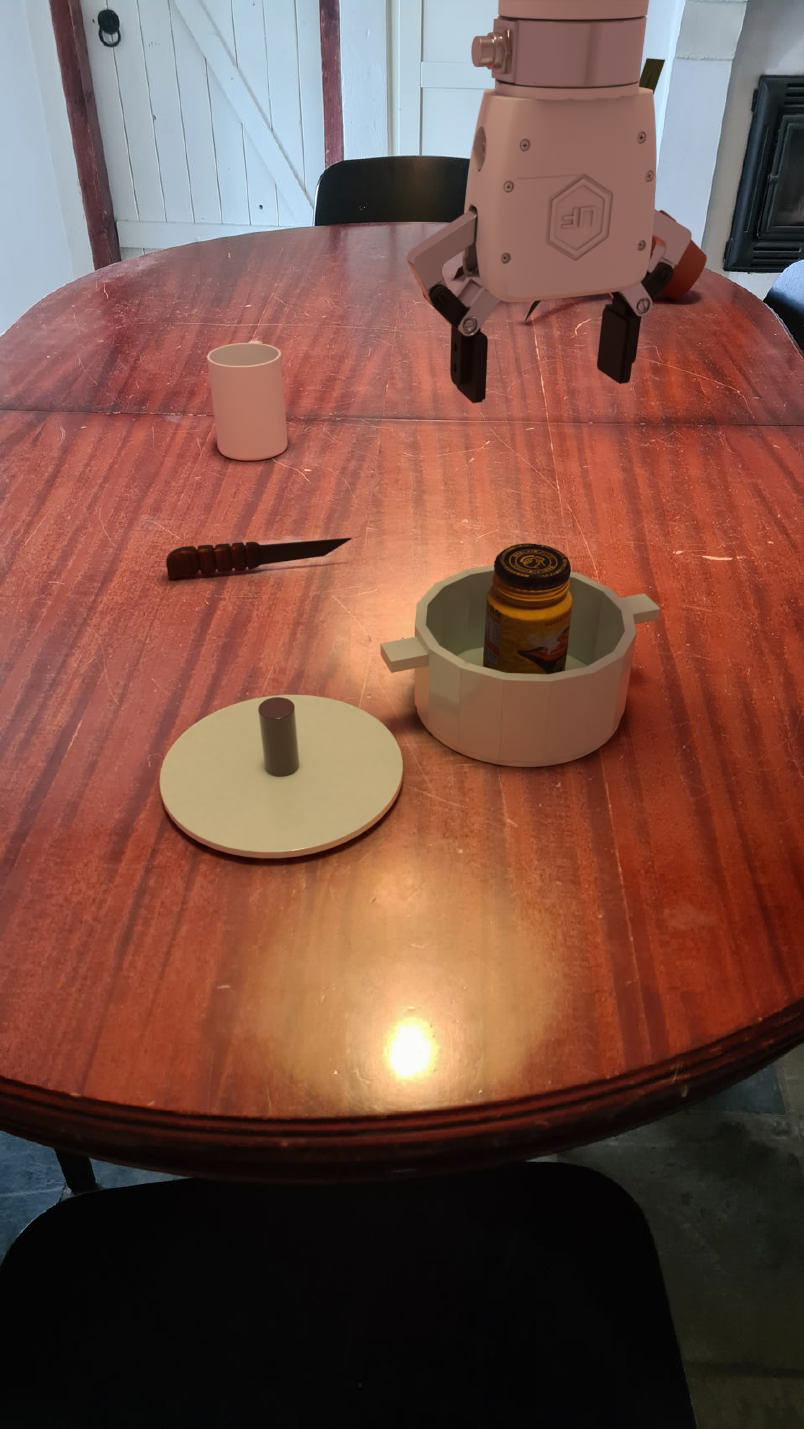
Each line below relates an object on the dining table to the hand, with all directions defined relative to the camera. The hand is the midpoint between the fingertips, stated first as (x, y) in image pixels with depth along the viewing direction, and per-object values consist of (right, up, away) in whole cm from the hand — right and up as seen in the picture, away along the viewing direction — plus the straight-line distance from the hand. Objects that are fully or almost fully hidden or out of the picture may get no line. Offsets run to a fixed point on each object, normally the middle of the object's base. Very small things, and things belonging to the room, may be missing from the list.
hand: (542, 385), depth 64 cm
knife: (-22, -7, +31) cm, 38 cm away
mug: (-26, +11, +55) cm, 62 cm away
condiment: (-1, -19, +14) cm, 24 cm away
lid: (-17, -24, +7) cm, 31 cm away
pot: (0, -19, +15) cm, 24 cm away
